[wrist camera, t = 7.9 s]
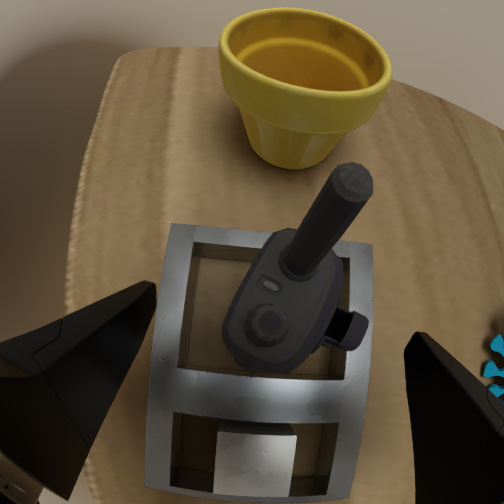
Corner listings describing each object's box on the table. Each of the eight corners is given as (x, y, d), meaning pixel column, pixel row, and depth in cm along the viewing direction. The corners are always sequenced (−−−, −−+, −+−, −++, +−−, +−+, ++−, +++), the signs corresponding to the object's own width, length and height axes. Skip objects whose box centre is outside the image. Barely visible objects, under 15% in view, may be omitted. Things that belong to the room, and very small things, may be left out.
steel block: (279, 470, 15) (288, 496, 11) (217, 466, 15) (213, 493, 11) (285, 417, 16) (297, 435, 13) (222, 413, 16) (217, 431, 13)
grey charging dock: (334, 480, 15) (348, 498, 12) (157, 468, 15) (144, 486, 12) (354, 258, 20) (372, 244, 17) (180, 240, 20) (171, 223, 17)
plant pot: (198, 156, 22) (180, 54, 12) (260, 83, 25) (268, -5, 15) (322, 216, 21) (375, 127, 11) (362, 127, 23) (403, 45, 14)
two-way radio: (261, 271, 19) (313, 82, 5) (321, 301, 19) (496, 192, 4) (220, 347, 18) (144, 363, 3) (284, 378, 17) (421, 474, 3)
